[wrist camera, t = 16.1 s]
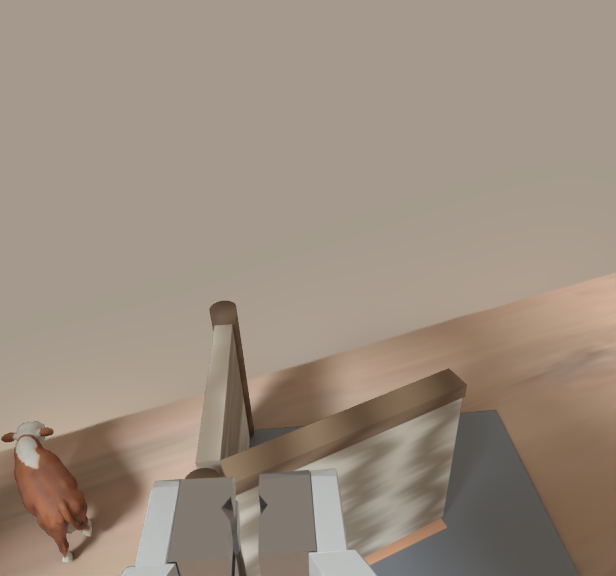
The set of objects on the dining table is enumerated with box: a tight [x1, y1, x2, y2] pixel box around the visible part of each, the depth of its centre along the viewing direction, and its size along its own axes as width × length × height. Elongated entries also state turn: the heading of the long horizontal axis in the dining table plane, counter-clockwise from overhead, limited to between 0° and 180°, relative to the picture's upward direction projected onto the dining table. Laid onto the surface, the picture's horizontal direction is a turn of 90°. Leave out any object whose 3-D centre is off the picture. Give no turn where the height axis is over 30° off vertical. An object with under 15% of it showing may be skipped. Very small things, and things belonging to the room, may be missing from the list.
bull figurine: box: [1, 421, 92, 563], centre depth 47 cm, size 4×13×8 cm, turn 38°
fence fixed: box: [185, 301, 254, 576], centre depth 44 cm, size 2×21×17 cm, turn 4°
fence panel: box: [220, 369, 467, 576], centre depth 40 cm, size 18×2×16 cm, turn 116°
